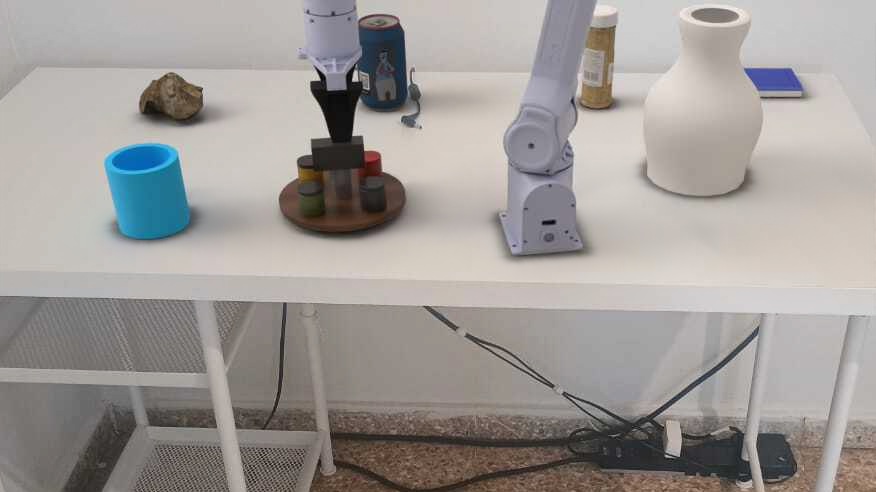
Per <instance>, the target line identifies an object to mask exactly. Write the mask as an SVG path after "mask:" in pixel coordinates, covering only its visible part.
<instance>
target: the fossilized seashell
mask: <svg viewBox="0 0 876 492" xmlns="http://www.w3.org/2000/svg"><path fill="white" fill-rule="evenodd" d="M203 90H204V88H203V87H201V86H198V85H195V84H193V83H190V82H188V81H186V80H185V79H184V78H183V77H182V76H181V75H179V74H178V73H176V72H174V71H169V72H166V73H165V74H163V76H161V77H159V78H158V79H152V80H151V82H150V83H149V85H148V86H147V87H146V88H145V89H144V90H143V91H142V93H141V95H140V97H139V101H138V109H139V112H140V114H141V116H163V115H165V116H167V117H169V118H170V119H173V120H174V121H176V122H185V121H189V120H191V119H193V118H194V117H195V116H197V114H198V113H200V111H201V110H202V109H203V107H204V94H203Z"/></svg>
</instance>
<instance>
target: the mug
mask: <svg viewBox="0 0 876 492" xmlns="http://www.w3.org/2000/svg"><path fill="white" fill-rule="evenodd" d="M103 166H104V170H105V174H106V179H107V183H108V187H109V190H110V194H111V199H112V202H113V207H114V211H115V216H116V219H117V220H116V221H117V224H118V227H119V230H120V231H121V233H122V234H123V235H125V236H127V237H129V238H132V239H137V240H155V239H162V238H165V237H168V236H172V235H174V234H176V233H178V232H180V231H182V230H183V229H185V228H186V227H187V226H188V225H189V223H190V222H191V213H190V208H189V202H188V198H187V193H186V188H185V183H184V178H183V173H182V166H181V162H180V157H179V151H178V150H177V149H176V148H175V147H174V146H171V145H169V144H166V143H161V142H160V143H159V142H143V143H135V144H131V145H130V144H129V145H127V146H124V147H120V148H119V149H116V150H114V151H112V152H111V153H109V154H107V156H106V158H105V159H104V164H103Z"/></svg>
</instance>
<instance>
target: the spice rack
mask: <svg viewBox="0 0 876 492" xmlns="http://www.w3.org/2000/svg"><path fill="white" fill-rule="evenodd" d="M364 142H365V141H364V135H362V134H361V135H352V140H351V142H347V143H333V142H332V140H331V137H317V138H311V139H310V151H311V154H305V155H301V156H299V157H298V158H296V167H297V168H296V170H297V176H298V177H296V178H295V179H293V180H292V181H290V182H289V183H287V184H286V185H285V187H283V188H282V190H281V191H280V193H279V196H278V206H279V211H280V213H281V214H282V216H283V217H284V218H285V219H286V220H287V221H289V222H290V223H291V224H294V225H296V226H298V227H302V228H304V229H308V230H313V231H319V232H334V233H335V232H336V233H337V232H350V231H358V230H364V229H367V228H371V227H375V226H377V225H380V224H382V223H384V222H386V221H389V220H391V218H394V217H395V216H396V215H398V213H400V211H402V209H403V208H404V206H405V204H406V201H407V200H406V199H407V197H406V188H405V186H404V184H403V183H402V182H401V180H400V179H398V178H397V177H396V176H394V175H392V174H391V173H388V172H385V171H383V165H382V164H383V163H382V154H381V152H379V151H377V150H370V149H369V150H365V143H364Z"/></svg>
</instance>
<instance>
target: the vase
mask: <svg viewBox="0 0 876 492" xmlns="http://www.w3.org/2000/svg"><path fill="white" fill-rule="evenodd" d="M751 16H752V15H751V14H750V13H749V12H747V11H746V10H744V9H742V8H739V7H737V6H734V5H728V4H723V3H722V4H721V3H703V4H701V3H700V4H695V5H690V6H687V7H684V8H683V9H681V10H680V11H679V14H678V29H679V35H680V39H681V44H682V46H681V52H680V54H679V55H678V58H677V59H676V61H675V62H674V64H673V65H672V66H671V68H669V69H668V70H667V71H666V72H664V74H663V75H662V76H661V77H660V78H659V79H658V80H657V81H656V82H655V83H654V84H653V85H652V87H651V88H650V90H649V91H648V93H647V95H646V98H645V102H644V105H643V115H642V131H643V140H644V146H645V152H646V153H645V154H646V158H647V167H646V168H647V169H646V176H647V178H649V180H650V181H651V182H652V183H653V184H654V185H656V186H658V187H660V188H662V189H663V190H665V191H668V192H672V193H675V194H680V195H685V196H694V197H695V196H696V197H710V196H711V197H712V196H717V195H725V194H727V193H729V192H732V191H734V190H737V189H738V188H739V187H740V185H742V183H743V182H744V179H745V175H746V171H747V168H748V165H749V162H750V160H751V158H752V155H753V153H754V151H755V149H756V147H757V144H758V140H759V138H760V135H761V133H762V128H763V122H764V110H763V105H762V100H761V97H760V95H759V93H758V90H757V88H756V87H755V85H754V84H753V82H752V81H751V79H750V78H749V77H748V75H747V74H746V73H745V71H744V69H743V68H744V67H743V66H742V62H741V60H740V52H741V48H742V45H743V43H744V41H745V39H746V37H747V36H748V33H749V31H750V29H751V26H752V25H751V24H752V17H751Z"/></svg>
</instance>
